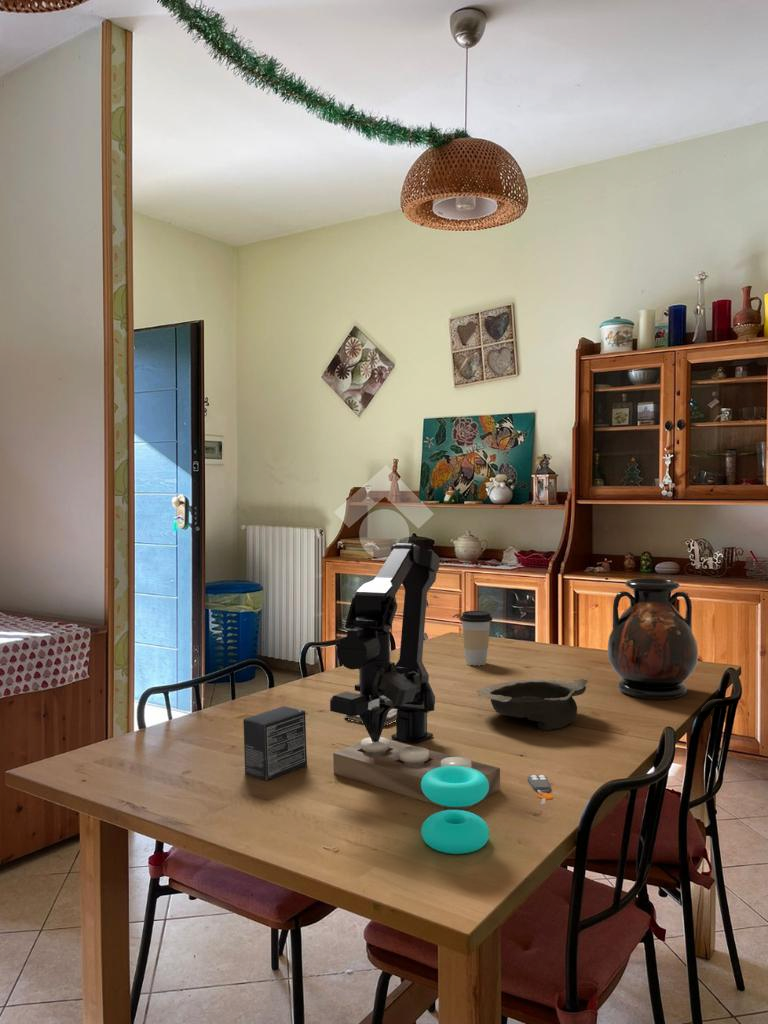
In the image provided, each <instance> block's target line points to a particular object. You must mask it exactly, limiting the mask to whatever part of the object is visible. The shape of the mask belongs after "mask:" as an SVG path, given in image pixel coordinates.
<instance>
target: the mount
mask: <svg viewBox="0 0 768 1024" xmlns="http://www.w3.org/2000/svg"><path fill="white" fill-rule="evenodd" d="M388 740H389V749H388V750H386V751H385V753H384V754H381V755H379V756H374V755H370V754H367V753H366V751H364V750H362V749H361V741H360V742H358V743H355V744H353V745H350V746H347V747H345V748H342V749H340V750H337V751H335V752H333V759H332V760H333V774H334V775H338V776H341V777H344V778H347V779H351V780H353V781H357V782H360V783H363V784H367V785H369V786H373V787H376V788H380V789H383V790H386V791H390V792H392V793H396V794H399V795H403V796H406V797H409V798H413V799H416V800H420V801H422V802H426V803H429V804H432V805H435V806H438V807H441V808H444V809H447V810H463V811H467V810H468V809H470V808H472V807H474V806H475V805H476V804H478V803H480V802H481V801H484V800H485V799H487V798H488V797H490V796H492V795H494V794H495V793H497V792H499V791H500V790H501V768H500V767H498V766H493V765H489V764H487V763H481V762H479V761H473V760H470V761H471V766H472V769H475V770H477V771H479V772H481V773H482V774H483V775H485V777H486V778H487V780H488V783H489V790H488V793H487V795H486V796H485V797H484V798H483V799H482V800H481V801H479V802H478V803H475V804H473V805H469V806H464V807H449V806H444V805H440V804H437V803H435V802H433V801H431V800H430V799H428V798H427V797H426V796H425V795H424V793H423V791H422V788H421V781H422V778H423V776H424V775H425V774H426V773H427V772H429V771H430V770H432V769H435V768H438V767H441V760H443V759H445V758H448V757H456V756H453V755H450V754H446V753H442V752H439V751H436V750H435V751H434V750H430V749H428V751H429V759H428V760H427V761H425V762H424V764H423V765H421V766H419V767H414V766H410V765H407V764H404V762H403V761H401V760H400V758H399V751H400V750H401V749H402V748H405V747H412V746H413V745H412V744H408V743H403V742H401V741H395V740H391V739H388Z"/></svg>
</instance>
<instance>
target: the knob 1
mask: <svg viewBox="0 0 768 1024" xmlns="http://www.w3.org/2000/svg"><path fill="white" fill-rule="evenodd" d="M389 740H390V739H388V738H387V737H383V736H380V739H379V741H377V742H374V741H372V740H371V738H370V736H369V737H365V738H362V739H361V741H360V742H361V749H362V750H364V751H366V753H367V754H370V755H374V756H379V755H381V754H384V753H385V751H386V750H388V749H389Z"/></svg>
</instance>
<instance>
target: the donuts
mask: <svg viewBox="0 0 768 1024" xmlns="http://www.w3.org/2000/svg"><path fill="white" fill-rule="evenodd" d="M421 788H422V791H423V793H424V795H425V796H426V797H427V798H428V799H430V800H431V801H433V802H435V803H437V804H440V805H444V806H449V807H464V806H469V805H473V804H475V803H477V804H478V803H480V802H481V800H482V799H483V798H484V797H485V796H486V795H487V793H488V790H489V783H488V780H487V778H486V777H485V775H483V774H482V773H481V772H479V771H477V770H475V769H472V768H469V767H463V766H443V767H438V768H435V769H432V770H430V771H429V772H427V773H426V774H425V775H424V776H423V778H422V781H421ZM479 801H480V802H479ZM482 801H483V800H482ZM475 805H476V804H475ZM473 806H474V805H473ZM489 829H490V828H489V825H488V824H487V822H486V820H484V819H483V818H482V817H480V815H478V814H475V813H473V812H471V811H467V810H465V811H463V810H451V809H446V810H445V809H444V810H441V811H440V810H439V811H437V812H435V813H432V814H431V815H429V816H428V817H427V818H426V819H425V820H424V821H423V823H422V825H421V829H420V830H421V831H420V833H421V837H422V839H423V841H424V843H425V844H426V845H428V846H429V847H430V848H431V849H433V850H435V851H439V852H441V853H445V854H453V855H455V854H456V855H459V854H460V855H461V854H469V853H473V852H476V851H478V850H480V849H482V848H483V847H484V846H485V845H486V844H487V842H488V841H489V838H490V830H489Z"/></svg>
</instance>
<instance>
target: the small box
mask: <svg viewBox="0 0 768 1024" xmlns="http://www.w3.org/2000/svg"><path fill="white" fill-rule="evenodd" d="M242 721H243V747H244V749H243V751H244V754H243V755H244V775H247V776H250V777H253V778H255V779H259V780H261V781H262V780H263V781H265V782H268V781H270V780H273V779H275V778H278V777H280V776H283V775H285V774H288V773H290V772H293V771H295V770H297V769H301V768H302V767H306V766H308V757H307V756H308V755H307V729H306V728H307V727H306V723H307V722H306V710H303V709H298V708H295V707H288V706H284V705H283V706H280V707H277V708H273V709H271V710H268V711H264V712H262V713H259V714H256V715H252V716H249V717H245V718H243V720H242Z"/></svg>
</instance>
